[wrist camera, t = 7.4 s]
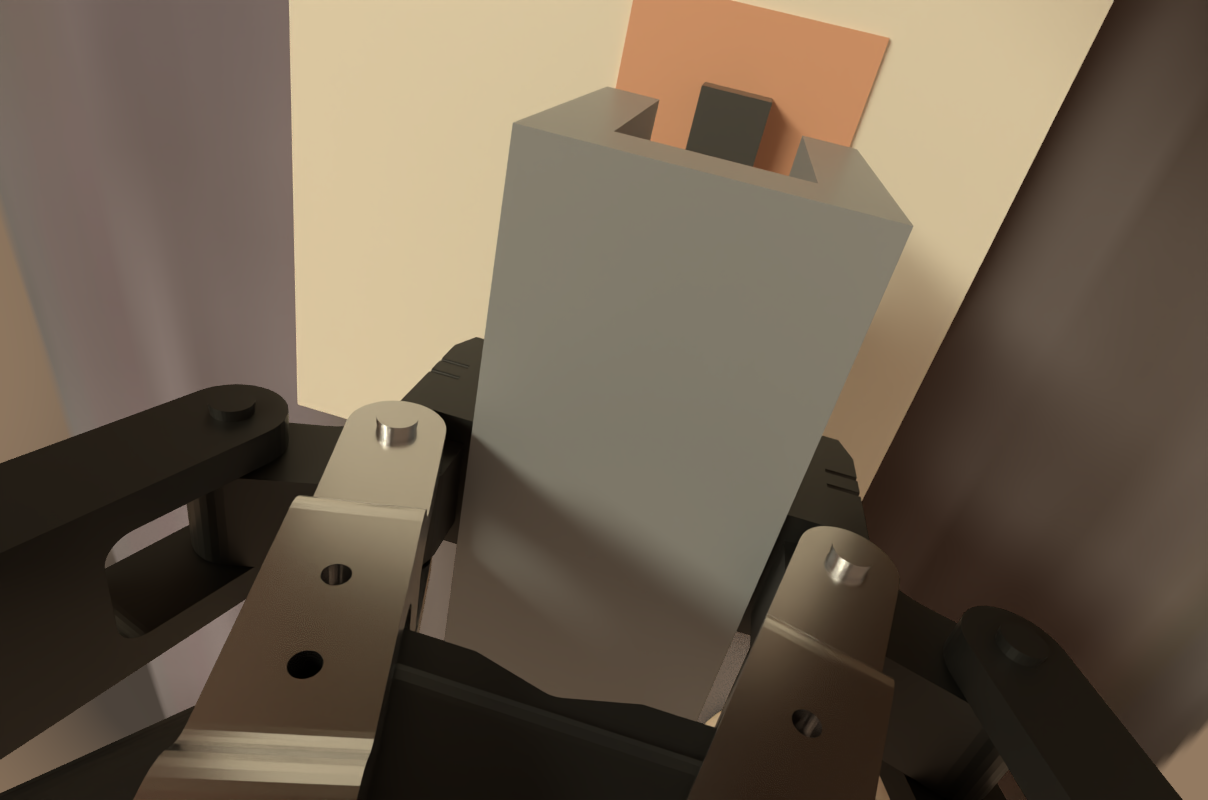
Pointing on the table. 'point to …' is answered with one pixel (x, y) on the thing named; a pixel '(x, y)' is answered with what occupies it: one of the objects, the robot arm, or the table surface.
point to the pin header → (728, 123)
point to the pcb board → (674, 76)
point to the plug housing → (652, 393)
